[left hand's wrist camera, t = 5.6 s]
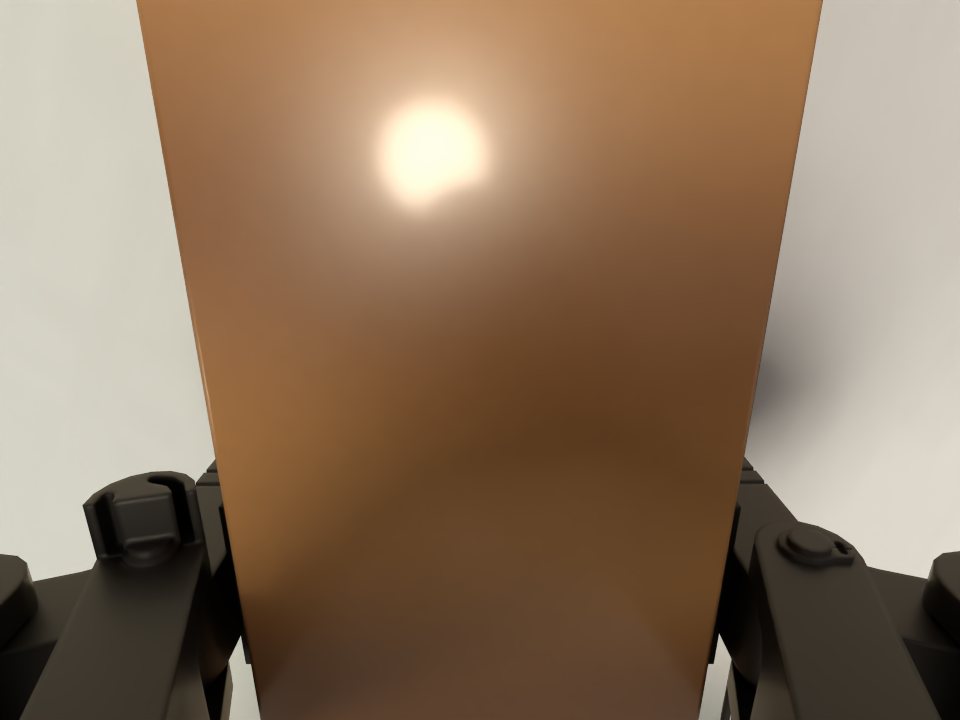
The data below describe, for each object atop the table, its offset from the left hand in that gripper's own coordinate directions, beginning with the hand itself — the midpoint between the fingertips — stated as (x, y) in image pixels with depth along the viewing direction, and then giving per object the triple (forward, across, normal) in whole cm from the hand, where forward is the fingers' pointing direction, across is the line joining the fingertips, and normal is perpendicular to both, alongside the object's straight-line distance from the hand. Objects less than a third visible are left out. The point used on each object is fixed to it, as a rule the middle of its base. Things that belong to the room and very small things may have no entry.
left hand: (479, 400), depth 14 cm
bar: (+1, 0, -23) cm, 23 cm away
